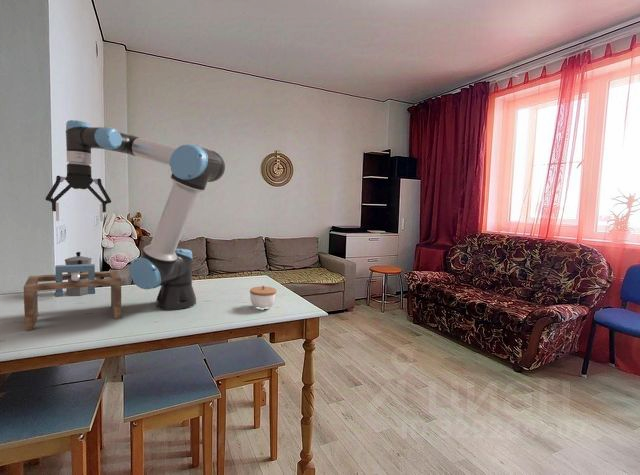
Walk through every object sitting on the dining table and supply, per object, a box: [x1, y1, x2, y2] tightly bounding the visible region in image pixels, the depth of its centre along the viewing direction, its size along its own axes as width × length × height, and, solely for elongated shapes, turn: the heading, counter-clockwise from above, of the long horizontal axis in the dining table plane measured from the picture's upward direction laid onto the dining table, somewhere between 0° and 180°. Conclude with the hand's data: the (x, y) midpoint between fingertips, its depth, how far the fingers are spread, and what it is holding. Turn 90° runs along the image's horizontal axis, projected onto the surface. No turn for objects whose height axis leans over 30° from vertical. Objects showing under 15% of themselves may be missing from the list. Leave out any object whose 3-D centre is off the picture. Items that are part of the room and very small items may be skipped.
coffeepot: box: [64, 251, 92, 297], centre depth 146 cm, size 15×9×18 cm, turn 39°
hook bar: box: [71, 272, 80, 283], centre depth 119 cm, size 2×15×2 cm, turn 35°
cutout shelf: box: [23, 270, 122, 332], centre depth 120 cm, size 26×16×14 cm, turn 125°
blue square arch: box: [54, 263, 96, 298], centre depth 119 cm, size 11×5×10 cm, turn 125°
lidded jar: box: [249, 285, 277, 308], centre depth 141 cm, size 11×11×9 cm
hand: (80, 220), depth 130 cm, fingers open, 13 cm apart
